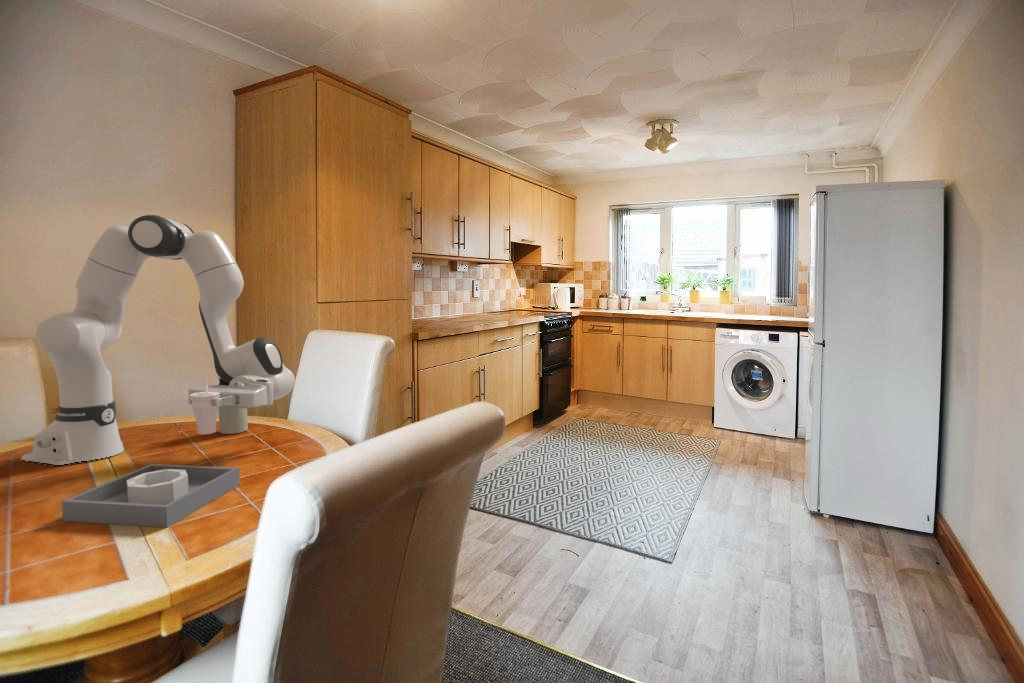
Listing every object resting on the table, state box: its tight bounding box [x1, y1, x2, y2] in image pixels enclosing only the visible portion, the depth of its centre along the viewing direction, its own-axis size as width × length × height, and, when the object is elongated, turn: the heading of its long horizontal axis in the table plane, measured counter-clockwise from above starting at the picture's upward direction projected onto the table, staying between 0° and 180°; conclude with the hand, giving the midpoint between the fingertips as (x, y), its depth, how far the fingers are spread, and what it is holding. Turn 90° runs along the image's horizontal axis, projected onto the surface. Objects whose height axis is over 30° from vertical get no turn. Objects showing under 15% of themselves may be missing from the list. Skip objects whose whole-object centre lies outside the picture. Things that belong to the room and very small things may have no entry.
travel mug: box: [217, 375, 249, 435], centre depth 164 cm, size 8×8×18 cm
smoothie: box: [190, 375, 220, 436], centre depth 127 cm, size 6×6×14 cm
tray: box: [61, 463, 241, 528], centre depth 110 cm, size 22×22×5 cm
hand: (202, 402), depth 126 cm, fingers closed on smoothie, 6 cm apart
